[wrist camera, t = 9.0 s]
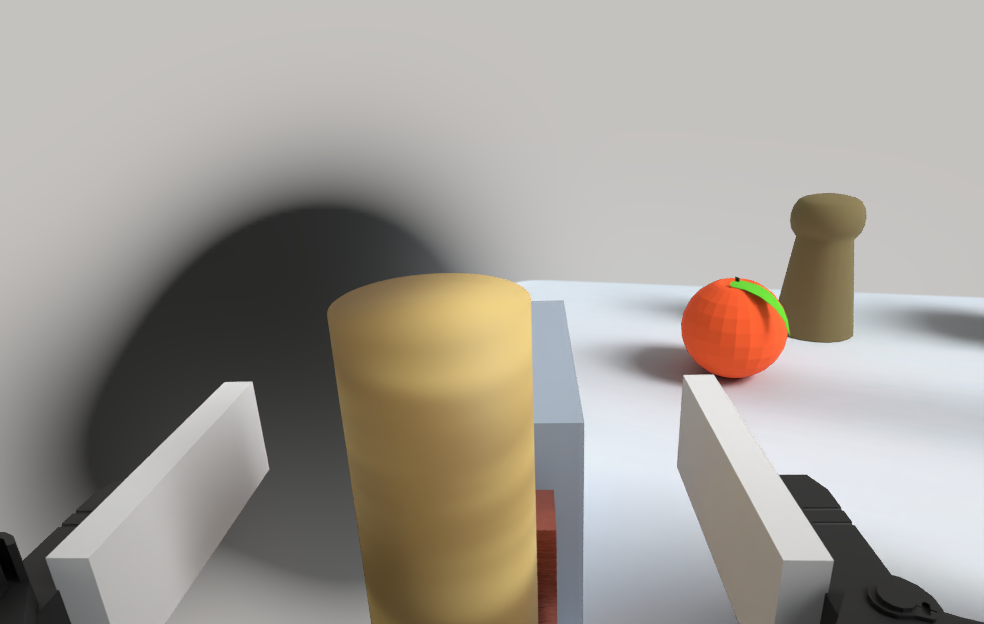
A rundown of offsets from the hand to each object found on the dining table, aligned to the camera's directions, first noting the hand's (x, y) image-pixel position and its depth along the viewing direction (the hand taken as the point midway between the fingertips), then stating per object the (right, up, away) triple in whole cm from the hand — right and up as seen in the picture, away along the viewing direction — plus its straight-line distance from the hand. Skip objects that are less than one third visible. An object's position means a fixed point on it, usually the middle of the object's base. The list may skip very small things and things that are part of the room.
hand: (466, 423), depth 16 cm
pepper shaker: (+27, +1, +35) cm, 44 cm away
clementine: (+18, -2, +27) cm, 33 cm away
